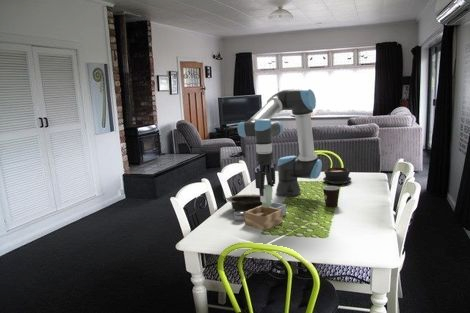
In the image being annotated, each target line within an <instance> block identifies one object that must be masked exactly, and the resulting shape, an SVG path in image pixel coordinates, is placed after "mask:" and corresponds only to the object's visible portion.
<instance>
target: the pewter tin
mask: <svg viewBox="0 0 470 313" xmlns="http://www.w3.org/2000/svg"><path fill="white" fill-rule="evenodd" d="M244 212H246V211H243V210H239V211H233V215H234V221H235V222H236V223H237V222H238V223H242V222H245V215H244Z"/></svg>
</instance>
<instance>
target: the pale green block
mask: <svg viewBox="0 0 470 313" xmlns="http://www.w3.org/2000/svg"><path fill="white" fill-rule="evenodd" d="M264 189H265V193H266V203H264V202H262V207H265V208H268V207H271V203H272V200H271V186H270V185H268V184H264Z"/></svg>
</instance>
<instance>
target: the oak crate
mask: <svg viewBox="0 0 470 313" xmlns="http://www.w3.org/2000/svg"><path fill="white" fill-rule="evenodd" d="M257 212H259V213H263V214H264V216H261V215H257V214H255V213H257ZM244 215H245V221H244V225H246V226H249V227H254V228H255V229H256V228H257V229H260V230H263V231H266V230H268V229H270V228H273V227H275V226H277V225H280V224H281V223H284V222H283V220H284V219H283V218H284V216H283V215H282V210H281V209H276V208H272V207H268V208H265V207H262V205H261V206H259V207H256V208H254V209H251V210H248V211H246V212H244Z"/></svg>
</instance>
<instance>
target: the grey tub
mask: <svg viewBox="0 0 470 313" xmlns="http://www.w3.org/2000/svg"><path fill="white" fill-rule="evenodd" d="M271 207H272V208H276V209H281V210H282V215H283V217H284V216H286V215H287V204H286V203H285V204H283V203H280V202H274V201H273V202H271Z"/></svg>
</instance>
